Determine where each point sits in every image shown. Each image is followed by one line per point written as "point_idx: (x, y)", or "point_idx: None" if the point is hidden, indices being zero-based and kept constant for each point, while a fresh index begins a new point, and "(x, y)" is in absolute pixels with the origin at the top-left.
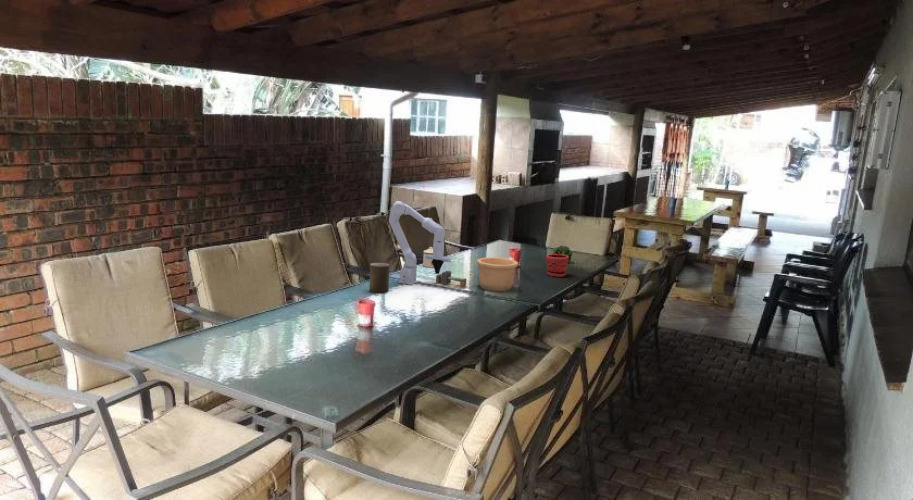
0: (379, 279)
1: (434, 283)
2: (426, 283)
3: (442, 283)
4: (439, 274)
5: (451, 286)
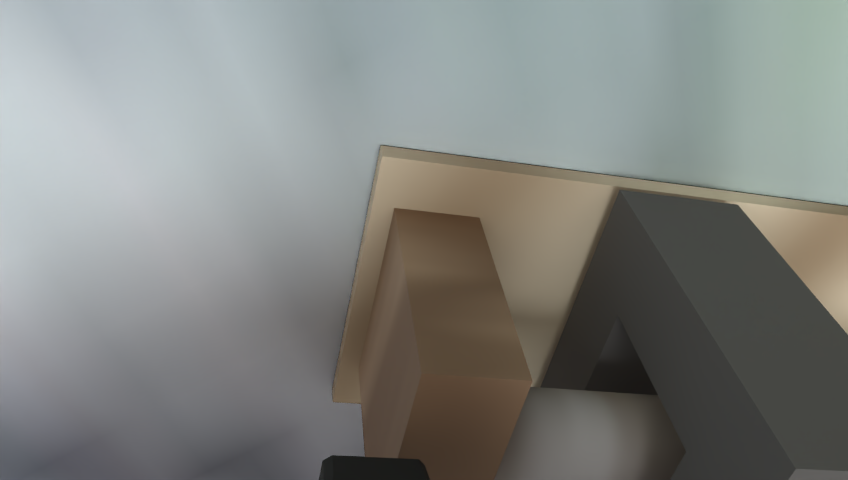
0: None
1: (340, 401)
2: (141, 423)
3: None
4: (425, 411)
5: None
